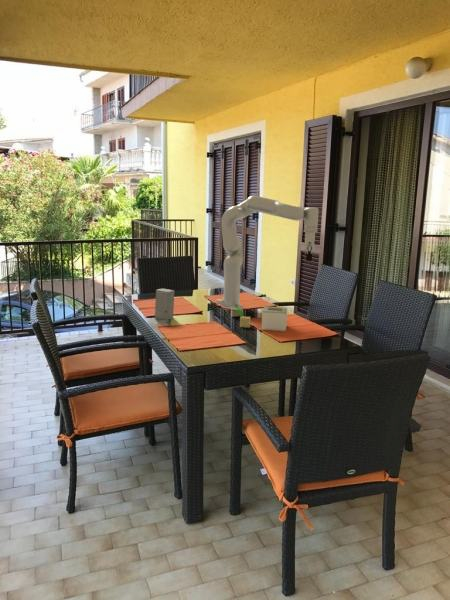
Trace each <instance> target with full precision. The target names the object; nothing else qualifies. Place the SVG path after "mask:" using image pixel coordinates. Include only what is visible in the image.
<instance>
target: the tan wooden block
mask: <svg viewBox="0 0 450 600" xmlns="http://www.w3.org/2000/svg"><path fill="white" fill-rule="evenodd" d="M239 317H240V318H239V328H249V329H250V327H251V316H244V315H243V316H239Z"/></svg>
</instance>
